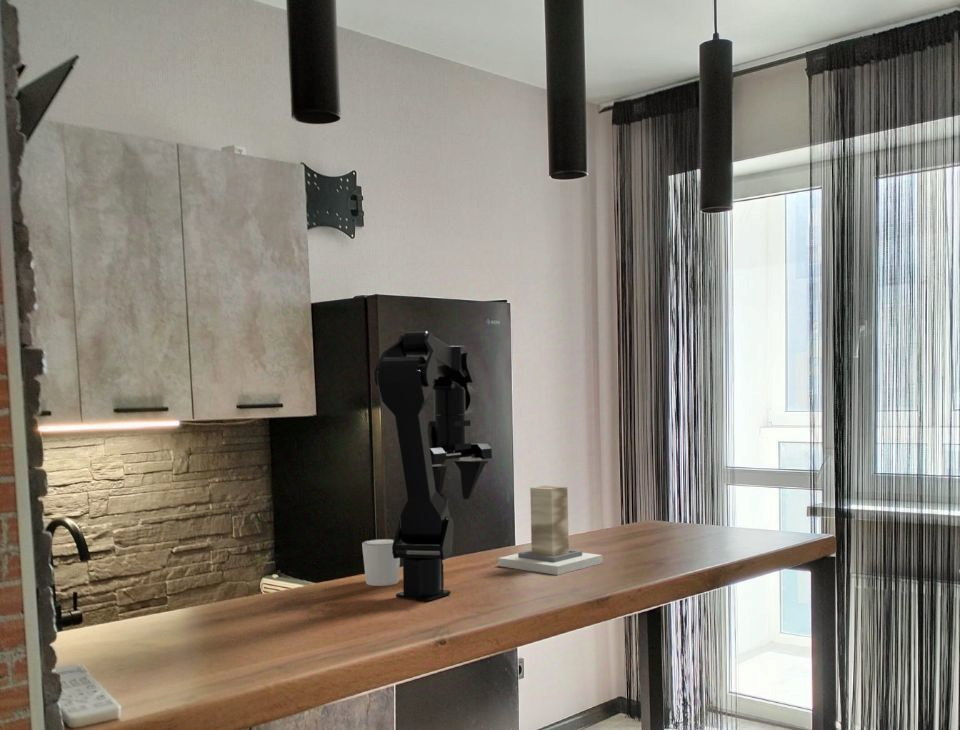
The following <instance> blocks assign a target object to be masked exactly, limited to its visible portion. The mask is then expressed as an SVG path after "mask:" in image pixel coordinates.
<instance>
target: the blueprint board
mask: <svg viewBox="0 0 960 730" xmlns="http://www.w3.org/2000/svg"><path fill="white" fill-rule="evenodd" d="M497 559H498V560H497V562H498V563H497V564H498V567H503V568H510V569H516V570H521V571H529V572H537V573H542V574H548V575H555V576H559V575H563V574H567V573H570V572H574V571H578V570H581V569H586V568H589V567H594V566H596V565H601V564H603V555H602V554H596V553H589V552H583V551H582V550H575V549H574V550H573V549H569V553H568V554H564V555H560V556H556V557H551V556H543V555H536V554H532V549H530V550H526V551H522V552H517V553H515V554H511V555H509V554H508V555H506V556H501V557H500V556H499V557H498V558H497Z"/></svg>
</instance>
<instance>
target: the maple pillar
mask: <svg viewBox="0 0 960 730" xmlns="http://www.w3.org/2000/svg"><path fill="white" fill-rule="evenodd" d="M529 489H530V490H529V491H530V534H531V537H530V539H531V550H532V554H536V555H543V556H551V557H556V556H560V555H564V554H568V553H569V550H570V548H569V547H570V544H569V543H570V542H569V537H570V536H569V506H568V505H569V502H568V501H569V500H568V486H559V485H542V486H541V485H539V486H534V487H530V488H529Z"/></svg>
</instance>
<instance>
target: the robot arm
mask: <svg viewBox="0 0 960 730" xmlns="http://www.w3.org/2000/svg"><path fill="white" fill-rule="evenodd" d="M472 360H473V359H472V356H471V352H470V351H468V349H467V347H466V346H465V345H448V344H446V343H445V342H443V341H441V340H440V339H439V338H437V337H435V335H434V333H433V332H430V331H428V330H422V331H419V330H418V331H405V332H404V333H401V334H400V335H399V338H398V340H397V341H396V342H395V343H394V344H392V345H391V346H390V347H389V348H386V350H384V351H383V352H382V354H381V356H380V358H379V360H378V362H377V365H376V367H375V369H374V383H375V385H376V387H377V388H378V392H379V396H380V400H381V403H383V405H384V406H385V407H386V408H387V409H388V410H389V412H390V413H391V414H392V415H393V416H394V421H395V428H396V433H397V441H398V447H399V455H400V461H401V468H402V474H403V475H402V476H403V480H404V487H405V488H404V489H405V494H406V501H405V504H404V506H403V507H402V510H401V513H400V514H399V520H398V521H399V522H398V524H397V527H396V531H395V532H396V533H395V536H394V539H393V540H394V542H393V546H392V553H393V557H394V559H397V558H400V559H402V574H403V575H402V581H403V582H402V583H403V589H402V590H403V591H401V592H397V593H395V597H396V598H399V599H400V598H401V599H407V600H413V601H414V600H415V601H420V602H421V601H422V602H429V601H433V600H436V599H439V598H442V597H445V596H447V595H450V594H451V592H452V591H451V590H449V589H444V588H445V586H444V585H445V582H444V578H445V577H444V563H443V562H444V561H445V560H447V559H448V558H449V557H451V556H452V553H453V542H454V532H455V531H454V529H455V528H454V527H455V523H454V520H453V517H452V516H451V512H450V508H449V499H448V497H447V496H446V494H443V488H444V483H445V477H446V473H447V467H448V466H447V465H444V464H445V462H446V460H452V459H453V460H454V459H459V460H454V464H455V465H456V466H457V468H458V469H459V471H460V472H459V473H460V484H461V494H462V498H463V500H469V499H470V498H471V496H472V494H473V491H474V489H475V486H476V484H477V481H478V480H479V477H480V475H481V473H482V472H483V471H484V468H485V466H486V464H487V465H488V463H489V461H488V460H489V459H492V458H493V457H492V454H493V453H492V452H493V451H492V447H491V446H490V444H489V443H480V442H479V443H473V442H472V443H471V442H467V432H466V431H467V429H466V428H467V427H472V426H471V424H472V423H471V419H469V420H468V419H466V415H467V414H470V413H472V412H473V411H475V410H476V408H477V405H478V403H479V396H478V392H477V391H476V390H475V388H474V387H472V386H471V385H469V384H474V383H476V380H477V379H476V375H475V369H474V366H473V365H474V364H473V361H472ZM432 391H433V414H434V415H433V418H434V419H433V420H430V421H429V422H428V423H427V419H426V411H425V407H426V404H427V401H428V400H429V398H430V396H431V393H432ZM487 459H488V460H487Z"/></svg>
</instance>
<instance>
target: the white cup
mask: <svg viewBox="0 0 960 730" xmlns="http://www.w3.org/2000/svg"><path fill="white" fill-rule="evenodd" d="M393 542H394V539H391V538H382V539H381V538H380V539H379V538H378V539H370V540H365V541H363V542H362V543H361V546H362V556H363V558H362V559H363V566H364V567H363V568H364V576H365V577H364V578H365V584H366V585H368V586H374V587H375V586H376V587H380V586H381V587H382V586H383V587H385V586H393V585H397V584H399V579H400V577H399V576H400V566H401V558H397V559H394V557H393V553H392V546H393Z"/></svg>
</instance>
